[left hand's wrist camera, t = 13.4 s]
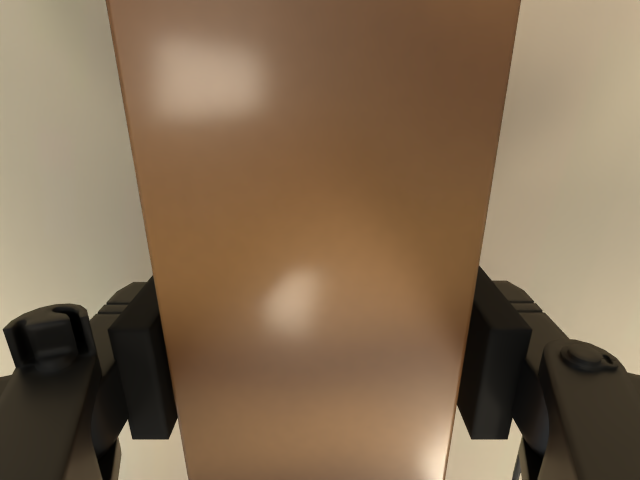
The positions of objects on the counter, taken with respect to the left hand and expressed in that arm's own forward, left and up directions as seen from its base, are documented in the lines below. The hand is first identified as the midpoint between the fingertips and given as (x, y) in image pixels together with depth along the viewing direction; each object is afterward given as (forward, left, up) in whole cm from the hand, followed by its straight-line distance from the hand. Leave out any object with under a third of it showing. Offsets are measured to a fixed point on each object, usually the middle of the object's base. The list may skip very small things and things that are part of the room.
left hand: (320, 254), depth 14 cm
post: (+30, -13, -2) cm, 33 cm away
